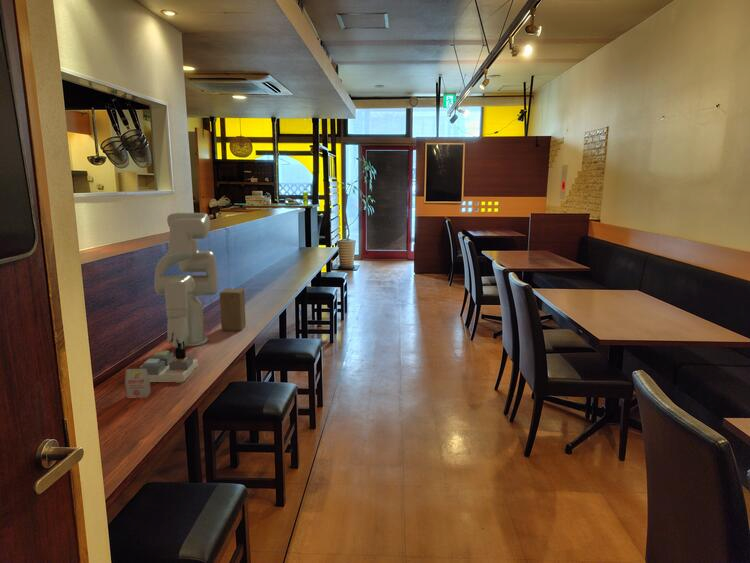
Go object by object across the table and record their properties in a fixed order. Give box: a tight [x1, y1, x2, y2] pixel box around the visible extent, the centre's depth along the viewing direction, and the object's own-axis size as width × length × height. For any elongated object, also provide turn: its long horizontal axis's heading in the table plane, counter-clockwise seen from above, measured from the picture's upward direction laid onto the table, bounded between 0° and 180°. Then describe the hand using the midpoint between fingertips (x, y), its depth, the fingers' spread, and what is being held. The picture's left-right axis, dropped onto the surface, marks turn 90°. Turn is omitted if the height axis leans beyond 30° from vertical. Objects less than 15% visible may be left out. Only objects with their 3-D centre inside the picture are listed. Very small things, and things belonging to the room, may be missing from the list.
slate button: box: [143, 358, 160, 366], centre depth 178 cm, size 4×4×2 cm
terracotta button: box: [173, 357, 189, 362], centre depth 183 cm, size 4×4×2 cm
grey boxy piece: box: [124, 368, 152, 398], centre depth 164 cm, size 4×7×10 cm, turn 96°
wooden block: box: [219, 288, 247, 332], centre depth 242 cm, size 10×10×20 cm
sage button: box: [153, 350, 170, 358], centre depth 187 cm, size 4×4×2 cm
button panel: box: [138, 352, 199, 382], centre depth 183 cm, size 16×16×6 cm
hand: (181, 357), depth 183 cm, fingers closed
